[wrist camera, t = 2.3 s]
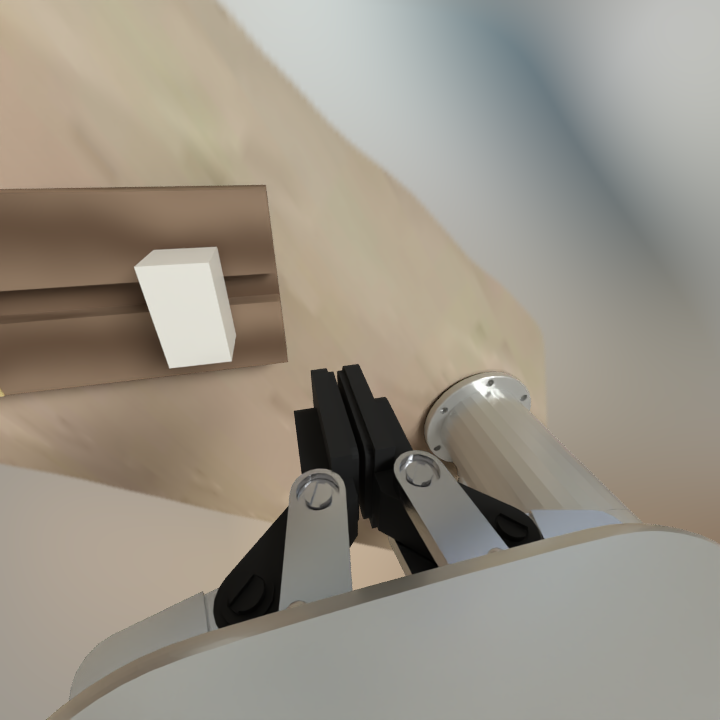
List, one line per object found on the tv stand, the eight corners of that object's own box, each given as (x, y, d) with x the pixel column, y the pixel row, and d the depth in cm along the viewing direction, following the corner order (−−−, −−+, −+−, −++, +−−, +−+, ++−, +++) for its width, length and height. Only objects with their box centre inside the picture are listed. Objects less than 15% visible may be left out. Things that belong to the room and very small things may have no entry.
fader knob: (237, 324, 25) (231, 361, 21) (187, 329, 24) (169, 368, 20) (220, 240, 22) (208, 262, 17) (161, 242, 21) (134, 267, 17)
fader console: (286, 343, 29) (287, 362, 26) (-58, 380, 24) (-97, 408, 21) (265, 185, 22) (265, 189, 20) (-206, 192, 18) (-286, 199, 15)
